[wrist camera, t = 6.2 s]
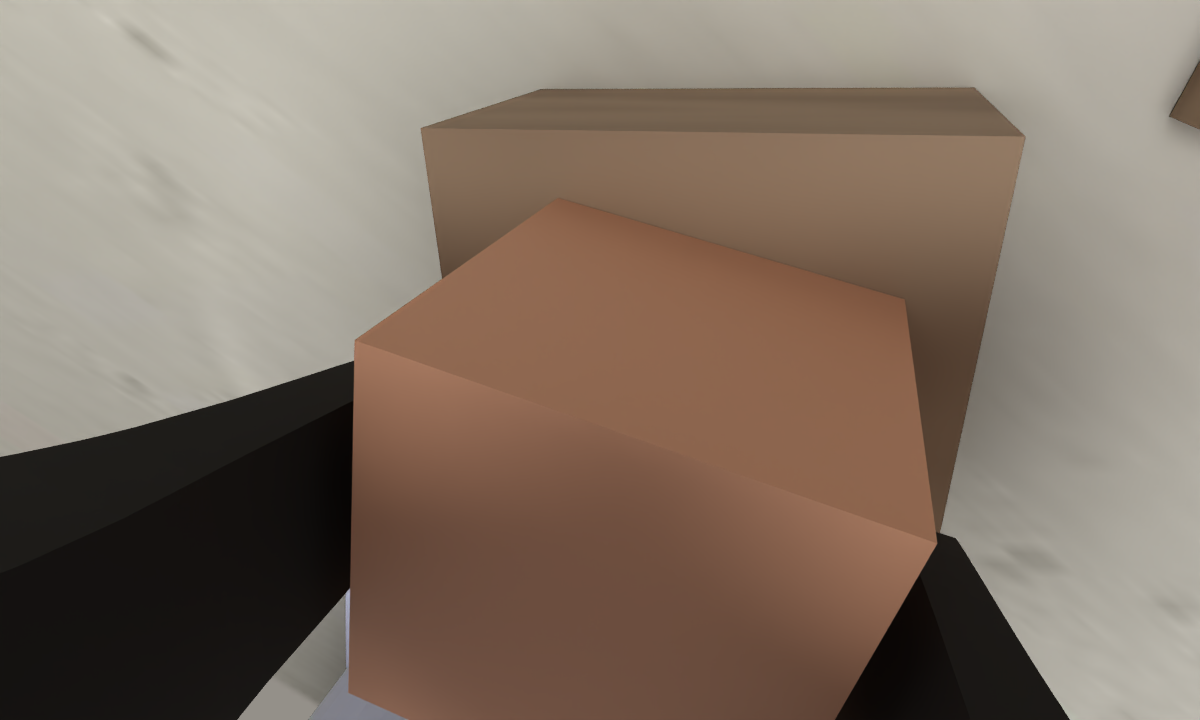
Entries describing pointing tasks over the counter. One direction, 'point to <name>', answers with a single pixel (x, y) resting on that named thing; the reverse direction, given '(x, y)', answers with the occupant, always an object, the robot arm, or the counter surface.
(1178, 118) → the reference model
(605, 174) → the walnut base
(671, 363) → the terracotta block
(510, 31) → the counter surface
